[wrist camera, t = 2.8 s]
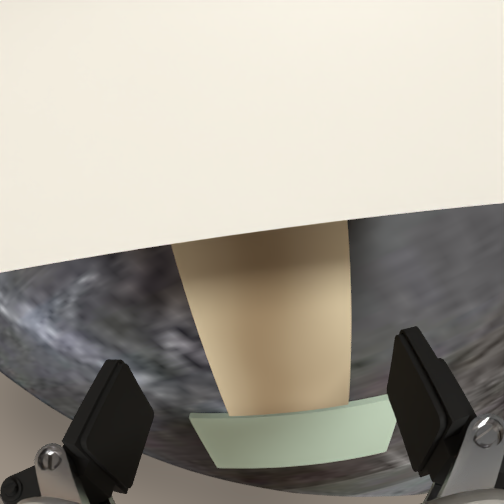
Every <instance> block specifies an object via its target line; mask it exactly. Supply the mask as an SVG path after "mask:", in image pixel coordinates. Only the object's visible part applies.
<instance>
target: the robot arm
mask: <svg viewBox="0 0 504 504" xmlns="http://www.w3.org/2000/svg"><path fill="white" fill-rule="evenodd" d="M387 395H388V398H389V401H390V404H391V407H392V409H393V412H394V415H395V418H396V421H397V423H398V426H399V429H400V432H401V435H402V438H403V441H404V444H405V447H406V450H407V453H408V456H409V459H410V462H411V466H412V469H413V470H414V471H415V472H416V471H418V472H419V475H420V477H423V476H426V475H429V474H430V477H431V480H432V482H433V484H432V486H431V488H430V490H429V492H428V494H427V496H426V498H425V500H424V502H423V503H421V504H504V420H503V419H501V418H500V417H499V416H496V415H494V414H483V415H480V416H478V417H477V416H476V414H475V412H474V410H473V409H472V407H471V405H470V403H469V401H468V400H467V398H466V396H465V394H464V392H463V391H462V389H461V387H460V386H459V384H458V382H457V380H456V379H455V377H454V375H453V374H452V372H451V370H450V369H449V367H448V365H447V364H446V362H445V361H444V360H443V359H441V358H437V357H436V355H435V353H434V352H433V350H432V348H431V347H430V345H429V344H428V342H427V340H426V339H425V337H424V336H423V334H422V333H421V331H420V330H419V328H418V327H416V326H415V327H411V328H407V329H403V330H401V331H400V333H399V335H396V336H395V341H394V349H393V355H392V362H391V368H390V374H389V380H388V385H387ZM153 418H154V412H153V409H152V407H151V406H150V404H149V402H148V400H147V399H146V397H145V395H144V394H143V392H142V390H141V388H140V386H139V385H138V383H137V381H136V379H135V377H134V375H133V374H132V372H131V370H130V368H129V366H128V365H127V364H125V363H124V362H123V361H122V360H109V359H108V360H106V361H105V363H104V364H103V366H102V368H101V370H100V371H99V373H98V375H97V377H96V378H95V380H94V382H93V384H92V386H91V387H90V389H89V391H88V393H87V395H86V396H85V398H84V400H83V402H82V404H81V406H80V407H79V409H78V411H77V413H76V415H75V417H74V419H73V421H72V422H71V424H70V427H69V428H68V430H67V433H66V434H65V436H64V438H63V440H62V442H63V443H64V445H63V447H61V446H60V445H58V444H53V443H51V444H47V445H45V446H43V447H42V448H41V449H40V450H39V451H38V452H37V454H36V457H35V465H34V466H32V467H30V468H28V469H26V470H23V471H21V472H19V473H17V474H14V475H12V476H10V477H8V478H6V479H5V481H4V482H3V484H2V486H1V494H0V504H115V502H114V500H113V498H112V492H113V491H115V492H119V493H124V494H127V491H128V488H131V486H132V484H133V481H134V478H135V475H136V471H137V468H138V465H139V461H140V458H141V455H142V452H143V449H144V446H145V443H146V440H147V436H148V433H149V430H150V427H151V424H152V421H153Z"/></svg>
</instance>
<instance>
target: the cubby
mask: <svg viewBox="0 0 504 504" xmlns="http://www.w3.org/2000/svg"><path fill="white" fill-rule="evenodd" d="M497 203H504V0H0V272H6V271H11V270H17V269H22V268H28V267H34V266H39V265H45V264H51V263H57V262H62V261H68V260H74V259H80V258H86V257H92V256H98V255H104V254H110V253H117V252H123V251H129V250H136V249H142V248H148V247H155V246H161V245H168V244H175V243H181V242H188V241H195V240H201V239H208V238H215V237H222V236H229V235H236V234H243V233H251V232H258V231H265V230H273V229H280V228H288V227H295V226H303V225H310V224H318V223H326V222H334V221H342V220H350V219H358V218H367V217H375V216H384V215H392V214H401V213H410V212H419V211H428V210H437V209H447V208H456V207H466V206H476V205H487V204H497Z"/></svg>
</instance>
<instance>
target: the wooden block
mask: <svg viewBox="0 0 504 504" xmlns="http://www.w3.org/2000/svg"><path fill="white" fill-rule="evenodd" d="M171 246H172V250H173V253H174V257H175V260H176V264H177V267H178V271H179V274H180V277H181V280H182V284H183V287H184V290H185V293H186V297H187V300H188V303H189V306H190V309H191V312H192V315H193V318H194V321H195V324H196V327H197V330H198V333H199V336H200V339H201V342H202V345H203V347H204V350H205V353H206V356H207V359H208V361H209V364H210V367H211V370H212V372H213V375H214V378H215V380H216V383H217V386H218V388H219V391H220V394H221V396H222V399H223V401H224V404H225V406H226V409H227V411H228V414H229V416H250V415H266V414H279V413H290V412H299V411H308V410H315V409H323V408H330V407H336V406H342V405H348V403H349V387H350V364H351V279H350V255H349V237H348V223H347V220H342V221H334V222H326V223H318V224H310V225H303V226H295V227H288V228H280V229H273V230H265V231H258V232H251V233H243V234H236V235H229V236H222V237H215V238H208V239H201V240H195V241H188V242H181V243H175V244H171Z"/></svg>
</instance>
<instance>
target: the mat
mask: <svg viewBox="0 0 504 504" xmlns="http://www.w3.org/2000/svg"><path fill="white" fill-rule="evenodd" d="M189 419H190V421H191V423H192V425H193V427H194V429H195V430H196V432H197V434H198V436H199V437H200V439H201V441H202V443H203V444H204V446H205V448H206V450H207V451H208V453H209V455H210V456H211V458H212V460H213V461H214V463H215V465H216V466H217V468H275V467H290V466H302V465H312V464H320V463H328V462H335V461H341V460H347V459H353V458H358V457H364V456H369V455H373V454H378V453H382V452H386V451H387V448H388V445H389V442H390V439H391V436H392V433H393V430H394V427H395V424H396V418H395V415H394V412H393V409H392V407H391V404H390V401H389V398H388V395H387V394H386V395H381V396H376V397H372V398H366V399H361V400H356V401H350V402H349V403H348V405H342V406H336V407H330V408H323V409H315V410H308V411H299V412H290V413H279V414H266V415H250V416H229V414H228V413H190V416H189Z"/></svg>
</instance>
